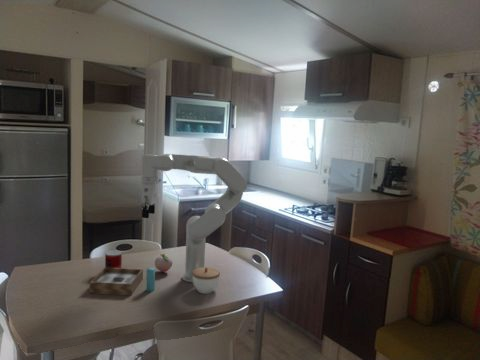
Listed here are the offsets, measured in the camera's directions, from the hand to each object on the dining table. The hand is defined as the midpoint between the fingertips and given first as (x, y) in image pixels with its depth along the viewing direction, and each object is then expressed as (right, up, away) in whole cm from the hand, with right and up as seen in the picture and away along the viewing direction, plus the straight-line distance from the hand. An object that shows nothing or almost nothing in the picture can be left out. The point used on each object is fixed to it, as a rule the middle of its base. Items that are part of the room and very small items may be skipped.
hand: (148, 215), depth 187 cm
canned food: (-20, -30, +9) cm, 37 cm away
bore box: (-13, -32, -6) cm, 35 cm away
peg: (+3, -34, -8) cm, 35 cm away
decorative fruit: (+4, -31, +13) cm, 34 cm away
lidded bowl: (+28, -35, -6) cm, 45 cm away
